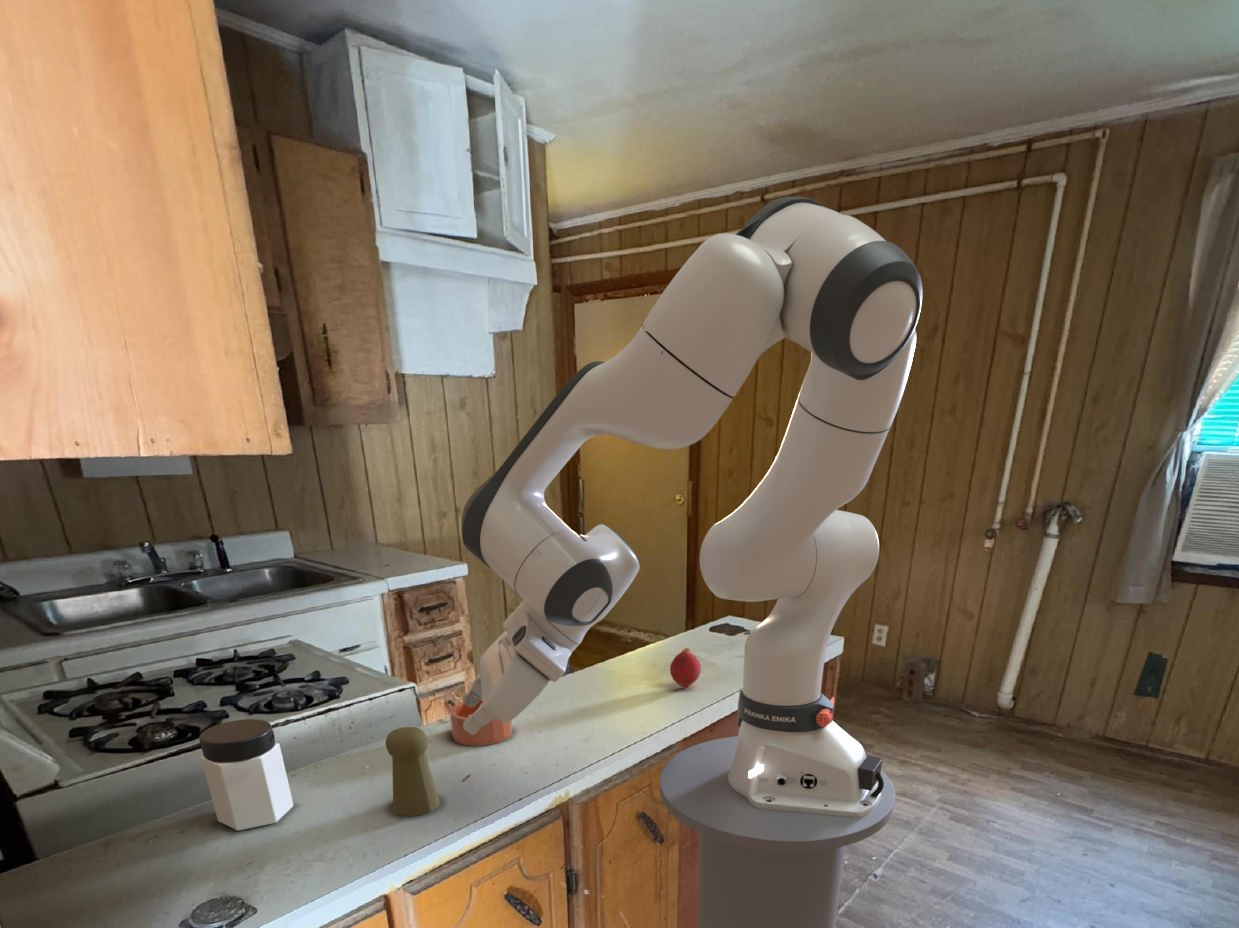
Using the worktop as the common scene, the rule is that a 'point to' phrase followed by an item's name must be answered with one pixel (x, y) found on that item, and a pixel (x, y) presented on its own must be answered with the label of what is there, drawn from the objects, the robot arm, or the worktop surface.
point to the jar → (245, 773)
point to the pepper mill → (411, 772)
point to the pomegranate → (685, 668)
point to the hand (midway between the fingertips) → (467, 716)
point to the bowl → (485, 735)
